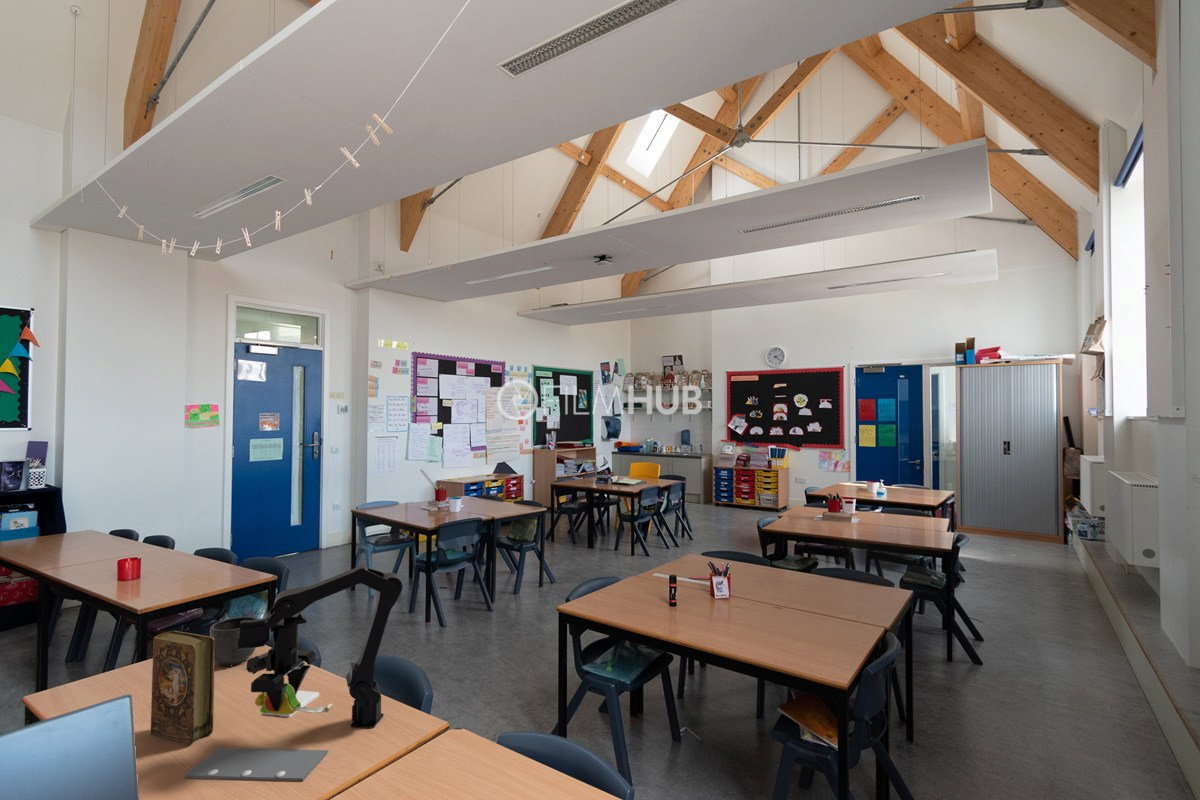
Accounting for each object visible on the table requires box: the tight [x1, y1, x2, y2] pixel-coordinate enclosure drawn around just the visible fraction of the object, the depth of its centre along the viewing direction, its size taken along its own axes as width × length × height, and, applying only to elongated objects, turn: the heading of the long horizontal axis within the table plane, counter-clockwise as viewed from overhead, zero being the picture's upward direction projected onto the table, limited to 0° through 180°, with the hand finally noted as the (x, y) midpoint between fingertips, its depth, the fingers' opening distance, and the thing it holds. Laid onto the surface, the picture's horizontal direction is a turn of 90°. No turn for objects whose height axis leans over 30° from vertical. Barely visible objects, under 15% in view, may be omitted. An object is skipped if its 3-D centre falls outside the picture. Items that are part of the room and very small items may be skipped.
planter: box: [209, 616, 258, 667], centre depth 192 cm, size 14×14×13 cm
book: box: [150, 630, 216, 746], centre depth 147 cm, size 16×6×25 cm, turn 71°
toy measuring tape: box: [254, 682, 334, 715], centre depth 144 cm, size 6×19×7 cm, turn 88°
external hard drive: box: [263, 690, 320, 718], centre depth 162 cm, size 2×8×12 cm
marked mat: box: [183, 747, 329, 782], centre depth 134 cm, size 28×11×1 cm, turn 87°
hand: (284, 704), depth 144 cm, fingers closed on toy measuring tape, 6 cm apart
